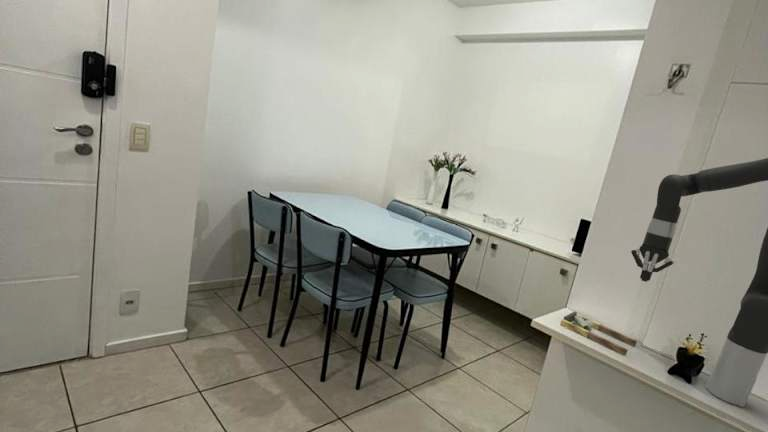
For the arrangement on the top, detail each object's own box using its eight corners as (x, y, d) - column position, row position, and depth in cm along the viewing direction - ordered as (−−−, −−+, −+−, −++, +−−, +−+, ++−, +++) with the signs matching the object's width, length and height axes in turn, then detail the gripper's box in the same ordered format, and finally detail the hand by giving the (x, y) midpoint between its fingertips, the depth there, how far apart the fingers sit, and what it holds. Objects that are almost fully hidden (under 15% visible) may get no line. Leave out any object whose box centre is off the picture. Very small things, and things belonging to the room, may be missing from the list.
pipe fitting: (588, 327, 152) (571, 322, 153) (592, 318, 151) (575, 313, 152) (597, 338, 144) (579, 332, 145) (601, 328, 144) (583, 323, 144)
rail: (635, 345, 143) (638, 338, 142) (624, 356, 133) (627, 348, 133) (573, 317, 158) (576, 310, 157) (560, 324, 148) (562, 317, 147)
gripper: (685, 238, 133) (668, 286, 137) (640, 227, 142) (626, 272, 146) (681, 240, 128) (664, 290, 132) (635, 228, 137) (620, 275, 140)
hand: (644, 280), depth 139 cm, fingers closed
